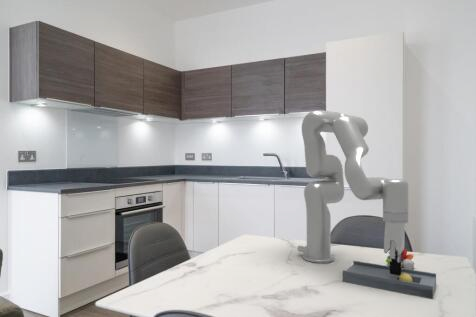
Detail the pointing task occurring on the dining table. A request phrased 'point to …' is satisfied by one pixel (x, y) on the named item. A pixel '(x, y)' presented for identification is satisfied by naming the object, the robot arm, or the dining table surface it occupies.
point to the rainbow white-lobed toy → (404, 260)
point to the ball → (405, 277)
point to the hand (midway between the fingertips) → (395, 273)
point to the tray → (391, 279)
